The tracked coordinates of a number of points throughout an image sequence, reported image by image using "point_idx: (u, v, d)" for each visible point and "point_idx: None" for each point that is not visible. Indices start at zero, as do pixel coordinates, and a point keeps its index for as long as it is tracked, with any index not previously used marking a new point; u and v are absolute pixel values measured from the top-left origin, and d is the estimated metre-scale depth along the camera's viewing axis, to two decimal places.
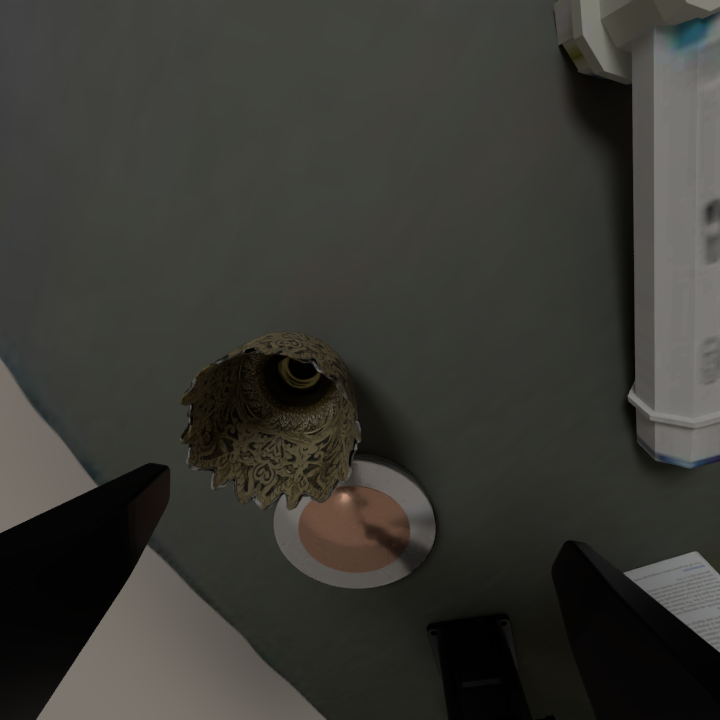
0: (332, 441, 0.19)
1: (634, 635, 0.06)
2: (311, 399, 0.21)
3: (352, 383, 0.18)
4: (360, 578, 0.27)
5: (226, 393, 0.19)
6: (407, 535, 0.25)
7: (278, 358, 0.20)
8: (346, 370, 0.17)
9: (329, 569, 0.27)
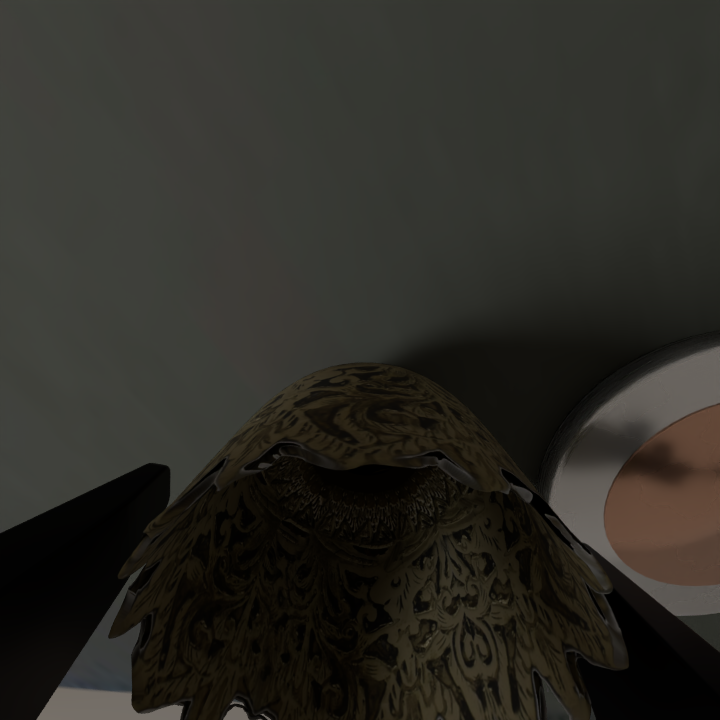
0: None
1: (634, 635, 0.06)
2: None
3: (393, 377, 0.07)
4: None
5: (309, 574, 0.10)
6: None
7: None
8: (356, 375, 0.07)
9: None
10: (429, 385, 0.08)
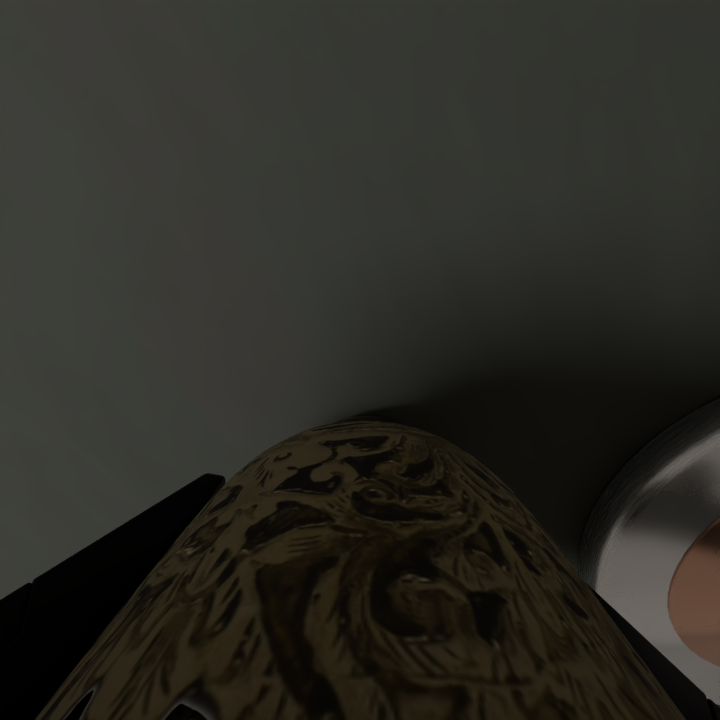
0: None
1: None
2: None
3: (411, 464, 0.05)
4: None
5: None
6: None
7: None
8: (353, 462, 0.05)
9: None
10: (464, 473, 0.05)
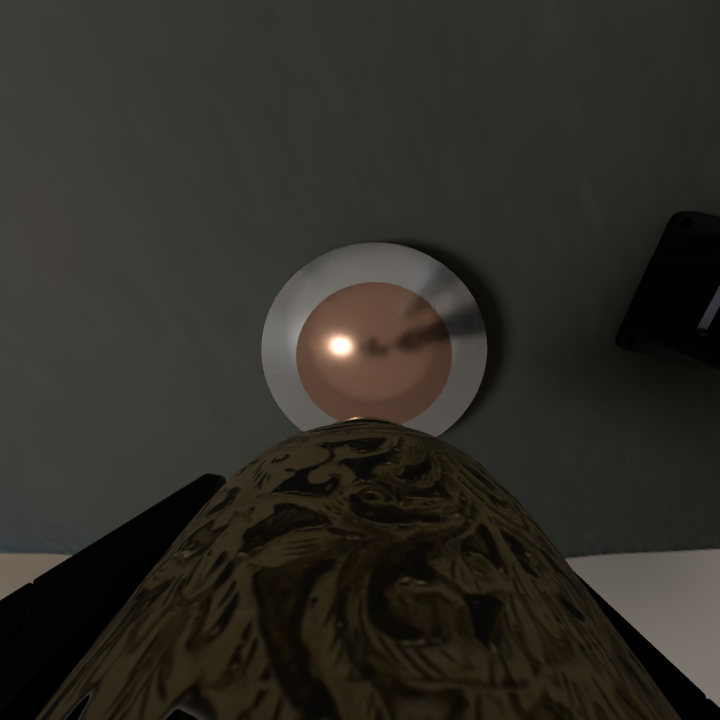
0: None
1: None
2: None
3: (408, 465, 0.05)
4: (457, 389, 0.19)
5: None
6: (412, 296, 0.17)
7: None
8: (351, 463, 0.05)
9: (420, 418, 0.19)
10: (462, 474, 0.05)
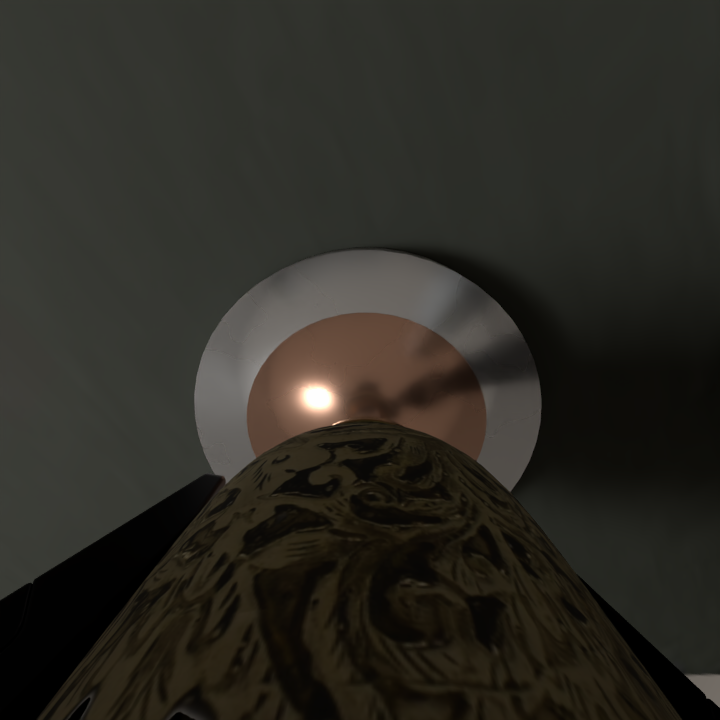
0: None
1: None
2: None
3: (409, 466, 0.05)
4: (491, 472, 0.12)
5: None
6: (426, 335, 0.11)
7: None
8: (352, 464, 0.05)
9: None
10: (463, 475, 0.05)
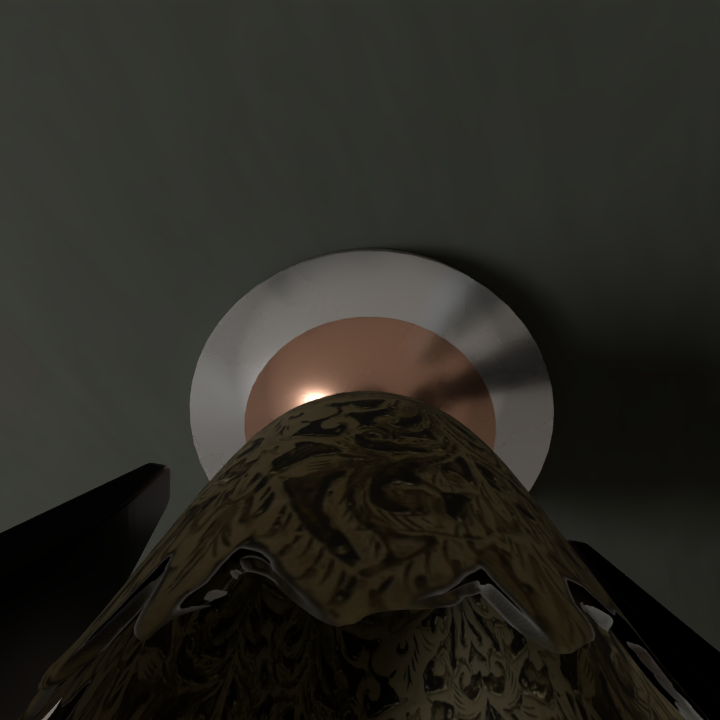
0: None
1: None
2: None
3: (403, 417, 0.06)
4: None
5: (299, 639, 0.08)
6: (433, 340, 0.10)
7: None
8: (356, 415, 0.06)
9: None
10: (447, 426, 0.06)
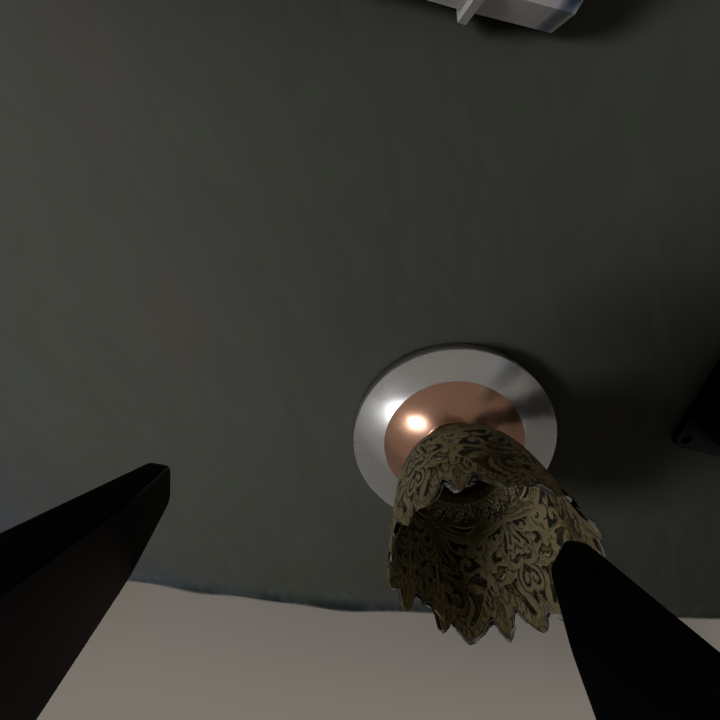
0: None
1: (634, 635, 0.06)
2: None
3: (497, 438, 0.15)
4: None
5: (430, 540, 0.18)
6: (495, 395, 0.19)
7: None
8: (479, 436, 0.15)
9: None
10: (514, 442, 0.15)
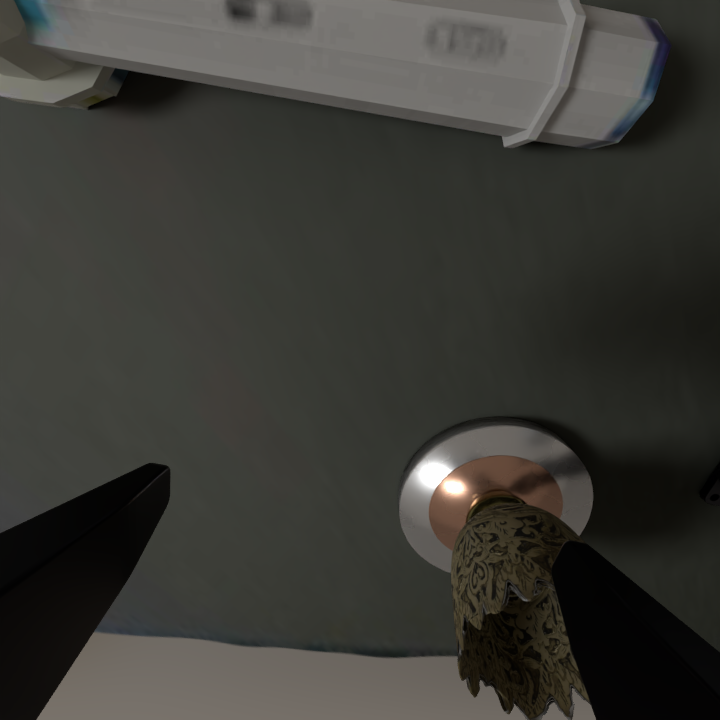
0: None
1: (634, 635, 0.06)
2: None
3: (549, 527, 0.16)
4: None
5: None
6: (534, 466, 0.20)
7: None
8: (533, 527, 0.16)
9: None
10: (564, 529, 0.16)
